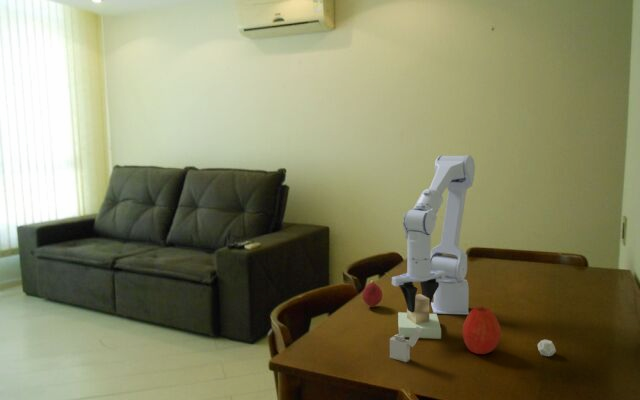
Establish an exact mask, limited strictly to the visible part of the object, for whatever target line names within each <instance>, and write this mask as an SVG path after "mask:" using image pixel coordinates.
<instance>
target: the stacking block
mask: <svg viewBox="0 0 640 400" xmlns="http://www.w3.org/2000/svg"><path fill="white" fill-rule="evenodd" d="M397 320H398V321H397V323H398V334H399V335H403V336H405V338H410V336H411V335H412V333H413V331H414V329H415V328H416V327H417V326H418V327H419V328H420V329H422V330H423V331H422V333H421V335H420V336H419V338H418V339H436V340H437V339H439V340H441V339H442V328H441V325H440V324H441V323H440V321H439V317H438V314H436V313H429V322H425V323H419V324H415V323H413V322H412V321H410V320H409V319H407V312H401V311H399V312H398V314H397Z"/></svg>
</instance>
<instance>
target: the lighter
mask: <svg viewBox="0 0 640 400" xmlns="http://www.w3.org/2000/svg"><path fill="white" fill-rule="evenodd" d="M422 331H423V330H422V329H420V328H419V327H418V326H417V327H416V328H415V329H414V331H413V333H412V335H411V336H410V337H408V338H409V339H405V338H406V337H405V336H403V335H399V333H397V334H395V335H393V336H391V337H390V338H389V358H390V359H393V360H398V361H401V362H404V363H408V362H409V361H410V359H411V356H410V355H411V354H410V353H411V347H412V348H413V347H414V346H415V345H416V343H417V342H418V340H419V339H420V338H419V336H420V335H421V333H422Z"/></svg>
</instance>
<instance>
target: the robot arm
mask: <svg viewBox="0 0 640 400" xmlns="http://www.w3.org/2000/svg"><path fill="white" fill-rule="evenodd" d="M475 163H476V162H475V159H474V158H473V156H472V155H471V154H470V155H469V154H467V155H442V154H441V155H438V156H437V157H436V159H435V161H434V168H433V169H434V176H433V178H432V181H431V184H430V186H429V187H428V188H426V189H424V190H423V191H422V192H421V193H420V196H419V198H418V199H417V200H416V203H415V204H414V206H413V208H412V209H409V210H408V211H406V213H404V216H403V220H402V227H403V230H404V238H405V239H406V241H407V242H406V243H407V245H406V247H407V248H406V250H407V256H406V257H407V261H406V262H407V265H406V267H407V268H406V269H407V270H406V273H403V274H399V275H395V276H392V277H391V285H392V286H394V287H399V289H400V290H401V293H402V294H403V297H404V300H405V303H406V310H407V309H408V311H410V312H414V309H415V297H416V295H417V291H418V288H417V287H416V286H415V285H414V284H415V283H416V284H417V283H420V284H419V285H420V289H421V295H423V296H425V297H427V298H429V299H430V300H429V309H430V308H432V314H437V315H438V314H441V315H468V314H469V313H470V311H469V301H470V300H469V298H470V297H469V296H470V295H469V293H470V291H469V282H468V280H467V279H466V276H467V273H468V255H467V253H466V252H465V251H464V250H463V249H462V247H460V244H459V243H460V238H461V230H462V224H463V219H464V218H463V217H464V210H465V205H466V204H465V202H466V196H467V190H468V189H469V188H471V187H472V186H473V183H474V180H475V178H474V177H475V172H476V164H475ZM446 189H447V190H448V192H447V199H446V204H445V205H446V206H445V211H444V213H445V214H444V218H443V225H442V232H441V239H440V243H439V244H437V245H436V246H434V247H432V240H431V239H432V234H433V232H434V230H435V228H436V222H437V217H438V216H437V213H438V212H439V210H440V208H441V206H442V204H443V202H444V197H443V193H444V192H445V191H446ZM432 301H433V302H432Z"/></svg>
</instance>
